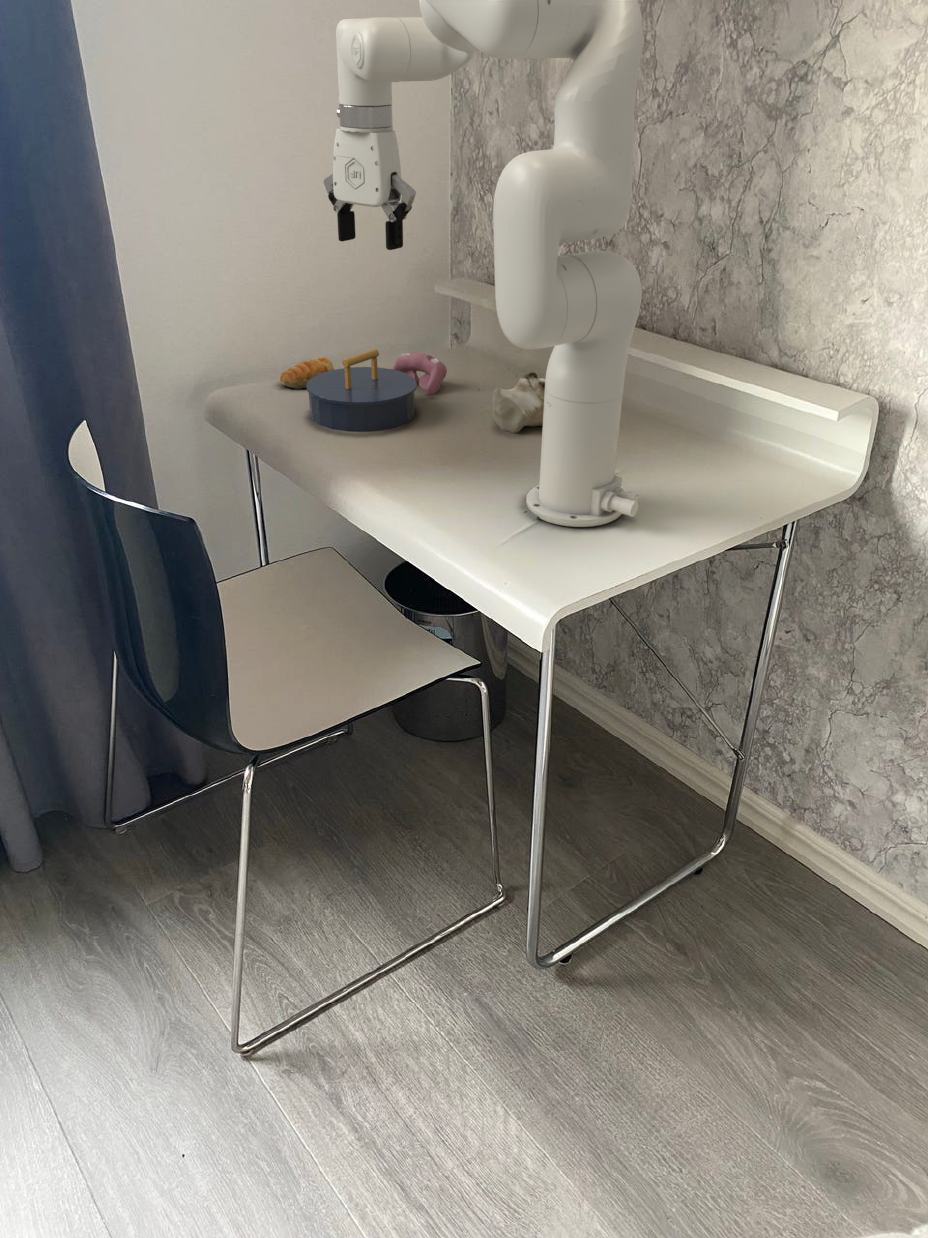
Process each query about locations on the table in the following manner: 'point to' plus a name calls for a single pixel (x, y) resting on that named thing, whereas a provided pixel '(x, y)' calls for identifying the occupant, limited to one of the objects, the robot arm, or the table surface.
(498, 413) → the ceramic sculpture
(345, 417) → the tin
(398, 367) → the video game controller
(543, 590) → the table surface
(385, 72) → the robot arm
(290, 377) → the pastry
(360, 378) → the lid
